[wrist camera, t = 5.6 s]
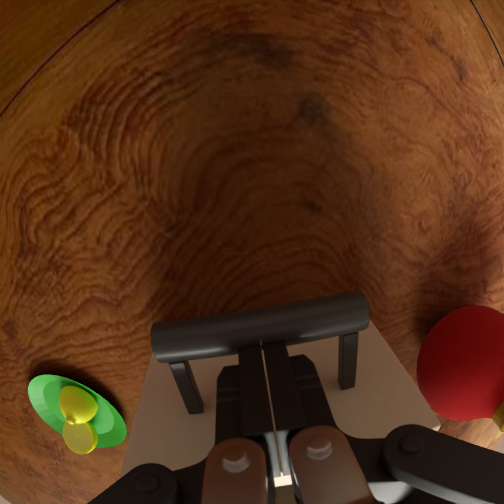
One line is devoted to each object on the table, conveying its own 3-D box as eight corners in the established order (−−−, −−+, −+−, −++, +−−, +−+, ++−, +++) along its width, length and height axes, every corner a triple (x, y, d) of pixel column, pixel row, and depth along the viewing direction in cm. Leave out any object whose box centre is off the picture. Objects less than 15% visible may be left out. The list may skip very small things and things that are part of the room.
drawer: (127, 278, 14) (57, 398, 6) (369, 239, 14) (475, 330, 7) (213, 480, 20) (214, 560, 13) (351, 457, 21) (377, 533, 13)
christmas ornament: (396, 387, 19) (458, 495, 10) (397, 308, 17) (499, 431, 7) (472, 350, 19) (543, 433, 10) (483, 271, 16) (588, 351, 7)
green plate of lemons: (144, 443, 19) (139, 472, 17) (64, 438, 19) (54, 462, 17) (98, 367, 17) (84, 398, 14) (14, 368, 16) (-3, 392, 14)
